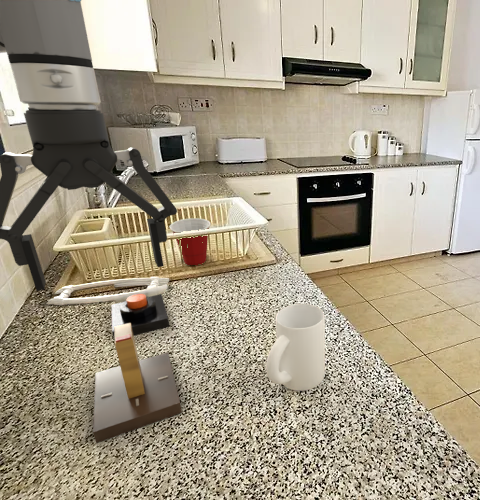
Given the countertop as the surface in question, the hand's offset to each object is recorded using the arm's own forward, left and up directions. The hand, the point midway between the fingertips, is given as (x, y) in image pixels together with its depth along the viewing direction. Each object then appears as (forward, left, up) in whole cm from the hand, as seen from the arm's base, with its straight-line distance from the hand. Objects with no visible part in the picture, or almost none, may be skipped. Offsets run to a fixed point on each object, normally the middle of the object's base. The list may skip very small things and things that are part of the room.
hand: (104, 274), depth 51 cm
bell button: (-26, +2, -18) cm, 31 cm away
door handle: (-41, -3, -22) cm, 46 cm away
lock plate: (-1, 0, -22) cm, 22 cm away
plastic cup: (-53, +18, -22) cm, 60 cm away
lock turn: (-1, 0, -20) cm, 20 cm away
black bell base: (-26, +2, -22) cm, 34 cm away
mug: (+8, +23, -22) cm, 33 cm away
